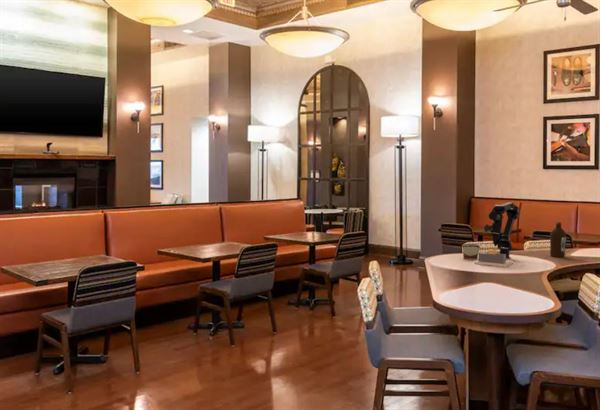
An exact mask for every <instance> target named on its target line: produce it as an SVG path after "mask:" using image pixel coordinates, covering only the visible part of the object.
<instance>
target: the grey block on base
mask: <svg viewBox="0 0 600 410" xmlns="http://www.w3.org/2000/svg"><path fill="white" fill-rule="evenodd" d="M513 263H514V261H513V260H510V259H509V260H508V259H506V254H500V253H497V254H488V252H486V251H485V252H484V251H481V252H478V259H476V260H475V261H474V264H476V265H484V266H493V267H494V266H495V267H503V266H504V268H505V267H508V266H510V265H511V264H513Z"/></svg>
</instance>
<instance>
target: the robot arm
mask: <svg viewBox="0 0 600 410" xmlns="http://www.w3.org/2000/svg"><path fill="white" fill-rule="evenodd" d="M505 213H506V216H507V219H506V222H505V226H504V229H503V234H502V228H503V221H504V215H505ZM520 214H521V210H520V208H519V207H518V206H517V204H515V202H512V201H511V202H509V201H508V202H506V203H503V204H495V205H494V206H493V207H492V210H491V212H489V214H488V219H489V220H491V221H493V222H492V225H489V224H485V225H484V226H483V230H484V233H489V232H490V234H491V236H492V244H493V245H494V247H497V249H498V250H499V254H506V260H508V259H512V257H511V256H510V251H512V250H513V244H512V242H511V241H512V240H511V239H510V236H511V233H512V230H513V228H514V224H515V221H516V220H517V219H518V218H519V216H520Z"/></svg>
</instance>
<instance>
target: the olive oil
mask: <svg viewBox="0 0 600 410" xmlns="http://www.w3.org/2000/svg"><path fill="white" fill-rule="evenodd" d="M549 235H550V236H549V241H550V243H549V244H550V249H549V251H550V253H549V255H550V257H552V258H565V257H566V255H565V252H566V243H567V242H566V241H567V232H566V231H565V230H564V229H563V228H562V222H561V221H556V223H555V228H554V229H552V231H551V232H550V234H549Z"/></svg>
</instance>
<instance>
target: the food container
mask: <svg viewBox="0 0 600 410" xmlns="http://www.w3.org/2000/svg"><path fill="white" fill-rule="evenodd" d="M461 248H462V254H463V255H462V256H463V260H478V256H479V253H480V252H479V250H480V248H481V246H480V244H477V243H463V244H462V245H461Z"/></svg>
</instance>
